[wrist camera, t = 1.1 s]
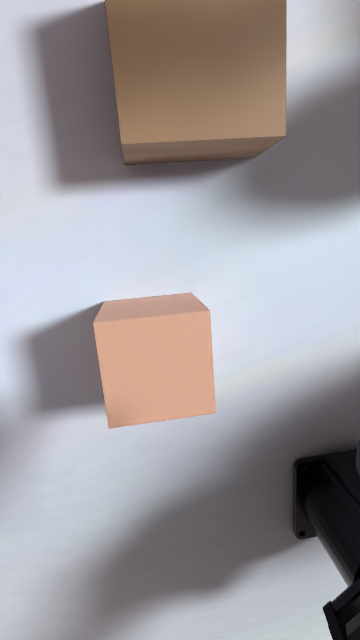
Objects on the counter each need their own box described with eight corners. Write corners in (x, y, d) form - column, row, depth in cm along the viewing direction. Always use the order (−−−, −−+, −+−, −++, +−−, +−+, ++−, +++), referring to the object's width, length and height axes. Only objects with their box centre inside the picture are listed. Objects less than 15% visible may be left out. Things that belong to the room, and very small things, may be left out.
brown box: (253, 158, 18) (286, 135, 14) (124, 165, 17) (121, 144, 13) (250, 3, 16) (286, -72, 12) (106, 4, 15) (96, -75, 11)
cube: (196, 371, 20) (215, 413, 15) (115, 382, 20) (108, 428, 15) (191, 292, 19) (209, 310, 14) (104, 301, 18) (92, 323, 14)
